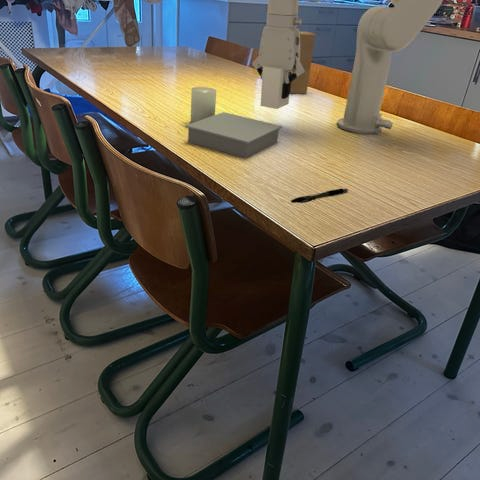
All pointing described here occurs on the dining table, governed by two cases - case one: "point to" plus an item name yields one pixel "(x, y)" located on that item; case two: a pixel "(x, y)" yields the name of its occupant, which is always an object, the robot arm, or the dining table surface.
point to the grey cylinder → (202, 103)
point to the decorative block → (303, 63)
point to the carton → (273, 88)
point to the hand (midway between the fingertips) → (275, 95)
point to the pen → (319, 195)
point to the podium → (233, 134)
